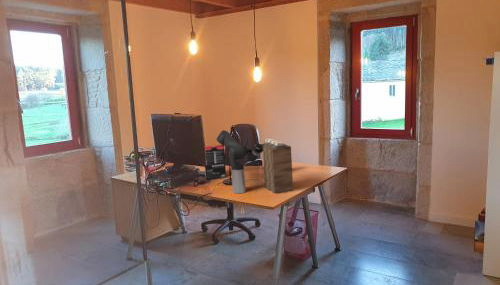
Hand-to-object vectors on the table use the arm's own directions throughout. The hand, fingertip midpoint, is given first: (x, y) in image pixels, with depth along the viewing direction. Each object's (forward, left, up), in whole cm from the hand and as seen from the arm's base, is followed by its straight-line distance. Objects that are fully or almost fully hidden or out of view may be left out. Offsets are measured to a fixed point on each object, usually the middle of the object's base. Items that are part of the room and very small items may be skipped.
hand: (263, 143), depth 296 cm
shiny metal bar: (+20, -4, +2) cm, 20 cm away
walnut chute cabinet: (+25, -5, -30) cm, 39 cm away
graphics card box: (-34, -27, -30) cm, 53 cm away
